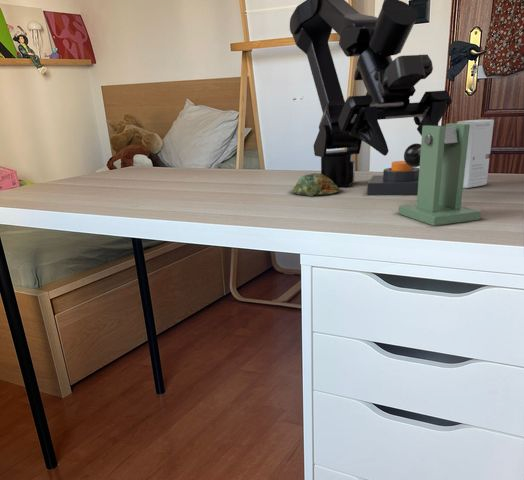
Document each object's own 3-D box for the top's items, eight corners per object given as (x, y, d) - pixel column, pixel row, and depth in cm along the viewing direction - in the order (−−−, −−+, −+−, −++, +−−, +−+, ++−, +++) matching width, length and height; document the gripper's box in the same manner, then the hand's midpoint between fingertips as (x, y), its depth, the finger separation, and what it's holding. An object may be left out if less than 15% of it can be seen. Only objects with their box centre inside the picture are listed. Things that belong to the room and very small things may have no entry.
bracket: (398, 213, 86) (403, 125, 80) (440, 208, 88) (448, 122, 82) (433, 225, 77) (442, 128, 72) (479, 219, 79) (492, 124, 74)
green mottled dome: (343, 167, 109) (331, 174, 101) (344, 187, 111) (333, 196, 102) (296, 171, 113) (282, 178, 104) (298, 191, 114) (284, 200, 106)
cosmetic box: (468, 188, 103) (475, 121, 97) (449, 186, 106) (455, 121, 101) (488, 184, 106) (496, 119, 100) (469, 182, 109) (476, 118, 104)
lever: (401, 170, 87) (398, 148, 87) (420, 168, 88) (417, 146, 87) (441, 148, 76) (437, 122, 76) (462, 146, 77) (459, 121, 77)
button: (390, 173, 102) (391, 163, 102) (391, 170, 106) (392, 161, 105) (411, 172, 101) (412, 163, 101) (412, 169, 105) (413, 160, 104)
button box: (367, 194, 103) (368, 173, 101) (372, 186, 111) (373, 166, 109) (431, 194, 99) (433, 172, 98) (432, 185, 108) (433, 165, 106)
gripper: (346, 38, 81) (379, 117, 76) (451, 35, 86) (487, 109, 81) (326, 96, 92) (353, 169, 87) (420, 90, 96) (451, 159, 91)
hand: (411, 151), depth 86 cm, fingers open, 9 cm apart
